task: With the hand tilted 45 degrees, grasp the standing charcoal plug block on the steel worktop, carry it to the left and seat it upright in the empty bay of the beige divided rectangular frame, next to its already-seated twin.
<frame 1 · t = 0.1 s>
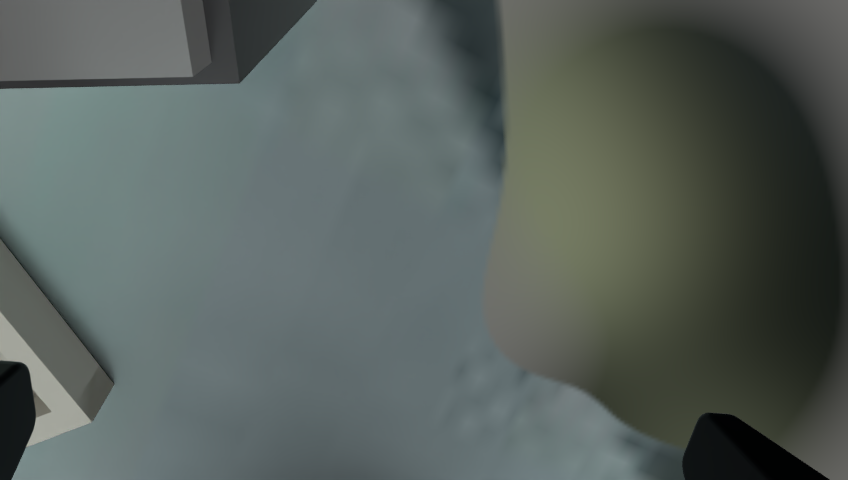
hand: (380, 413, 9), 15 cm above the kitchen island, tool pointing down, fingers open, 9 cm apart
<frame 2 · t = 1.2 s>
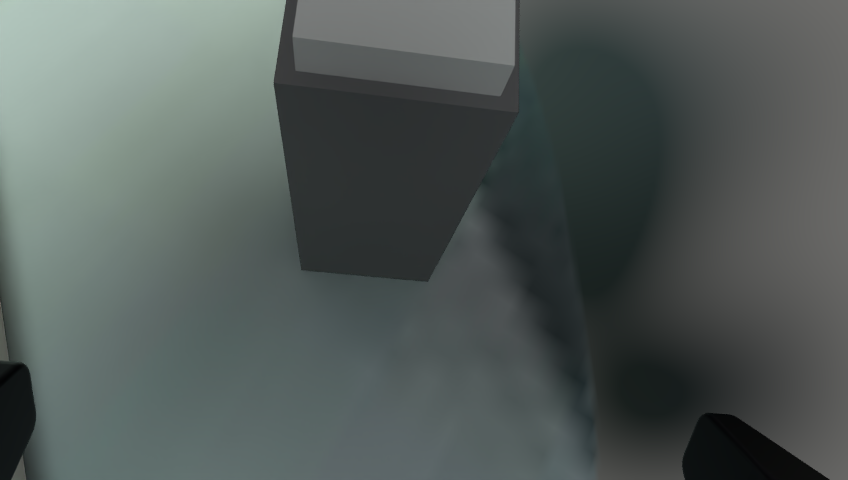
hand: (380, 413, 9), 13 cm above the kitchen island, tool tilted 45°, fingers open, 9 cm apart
iec plug: (370, 223, 24), on the kitchen island
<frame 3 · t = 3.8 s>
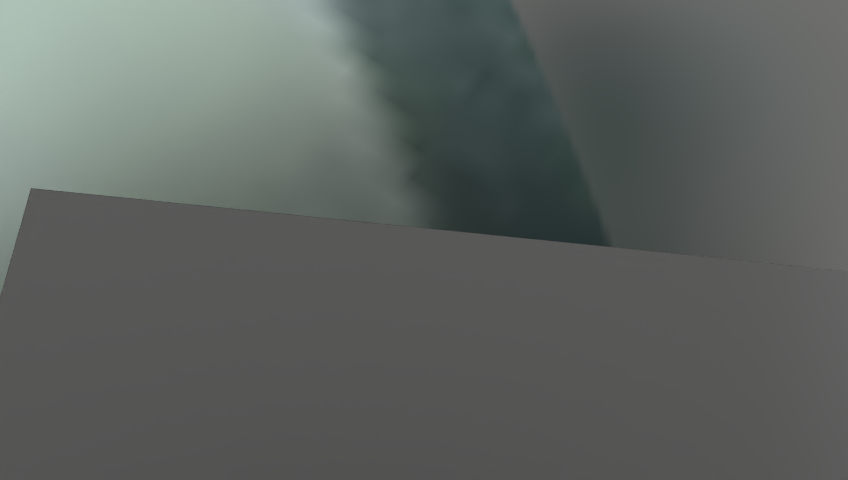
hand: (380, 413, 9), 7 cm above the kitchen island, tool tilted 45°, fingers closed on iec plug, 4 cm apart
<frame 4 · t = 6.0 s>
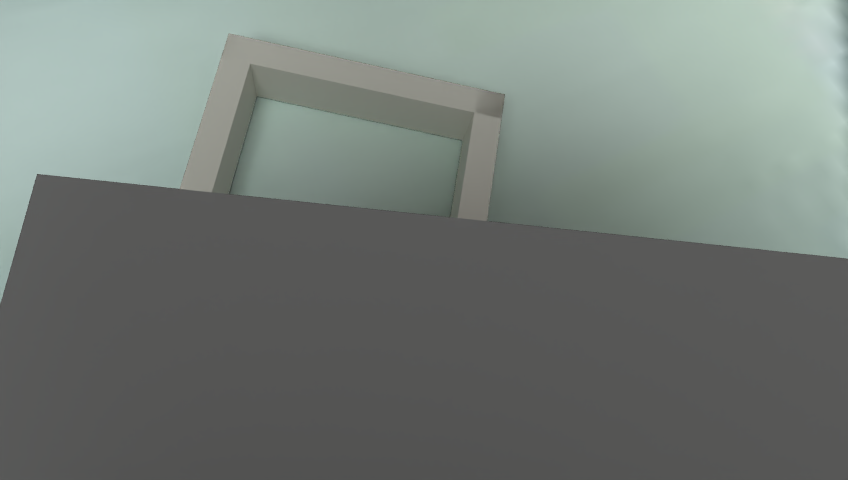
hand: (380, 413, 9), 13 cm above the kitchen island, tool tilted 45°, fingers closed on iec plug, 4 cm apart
beige divided rectangular frame: (339, 214, 24), on the kitchen island
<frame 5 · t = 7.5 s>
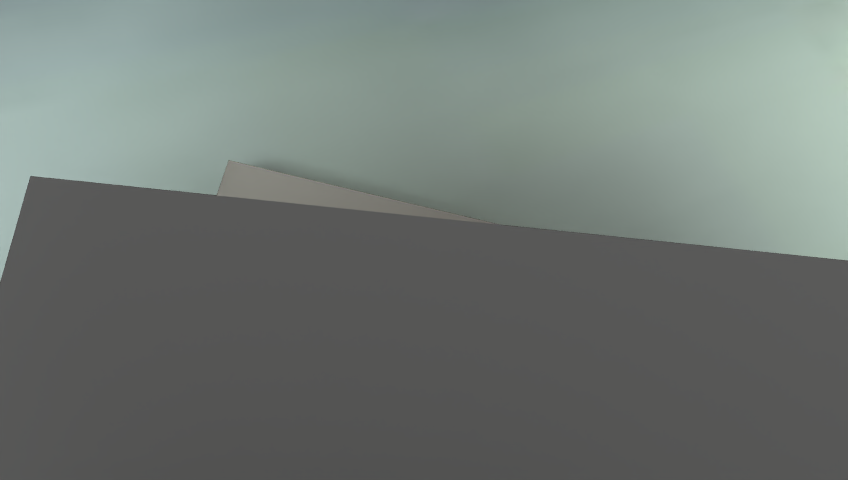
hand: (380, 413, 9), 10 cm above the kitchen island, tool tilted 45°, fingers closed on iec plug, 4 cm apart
beige divided rectangular frame: (359, 384, 19), on the kitchen island
when the fingers open (8 cm above the kitchen island, at t = 8.5 s): iec plug drops 2 cm, resting in beige divided rectangular frame.
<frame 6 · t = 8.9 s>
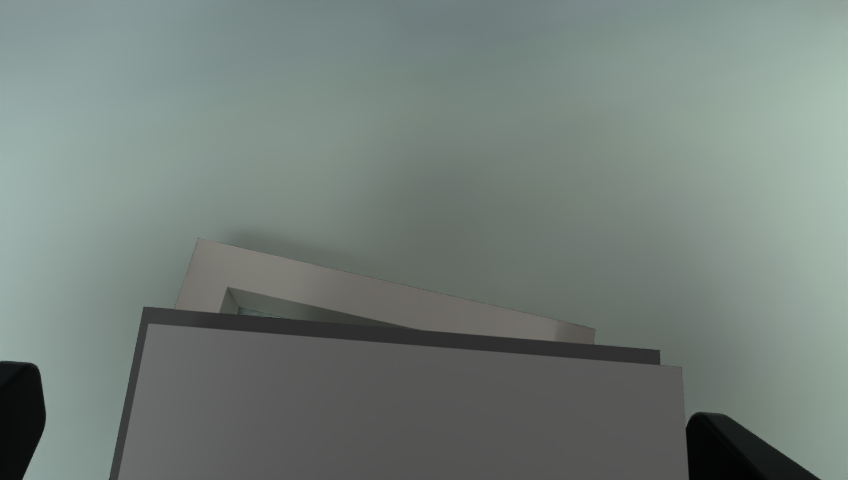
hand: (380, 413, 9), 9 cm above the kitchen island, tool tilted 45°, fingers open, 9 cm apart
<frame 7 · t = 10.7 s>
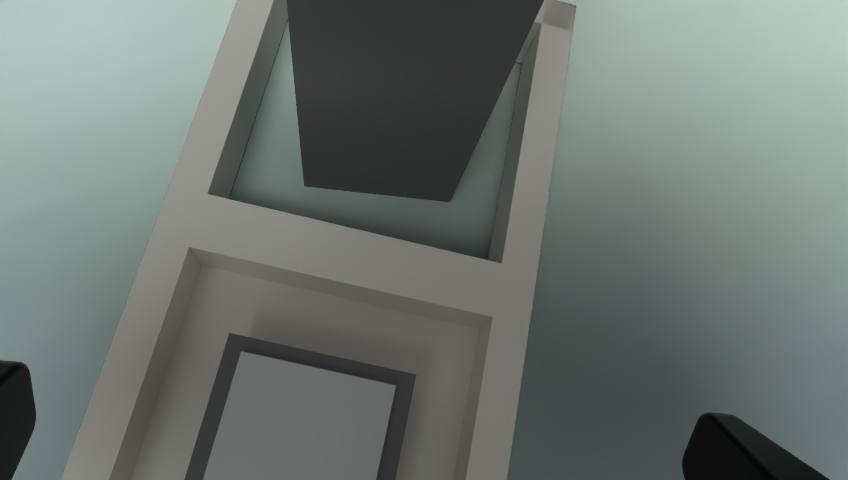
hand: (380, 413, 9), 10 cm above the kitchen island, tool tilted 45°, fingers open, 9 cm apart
iec plug: (383, 136, 21), resting in beige divided rectangular frame
beige divided rectangular frame: (383, 136, 21), on the kitchen island
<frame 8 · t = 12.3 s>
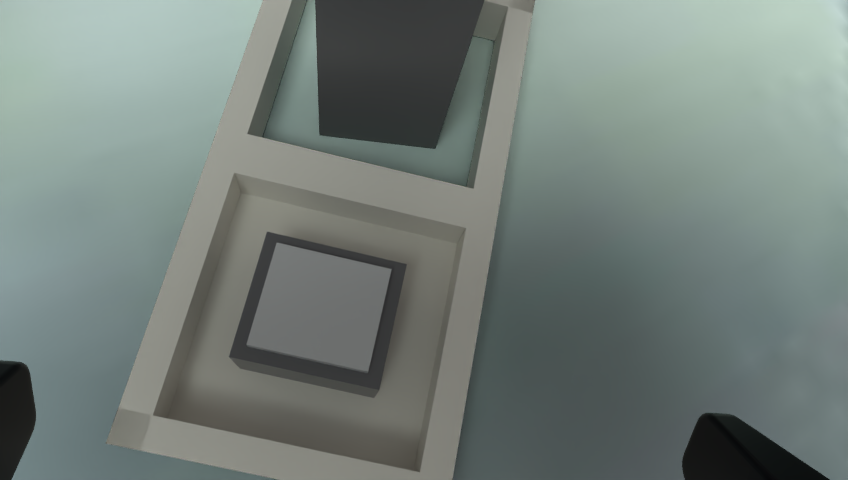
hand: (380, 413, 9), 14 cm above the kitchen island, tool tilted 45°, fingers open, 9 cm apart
iec plug: (382, 97, 26), resting in beige divided rectangular frame
beige divided rectangular frame: (382, 97, 26), on the kitchen island
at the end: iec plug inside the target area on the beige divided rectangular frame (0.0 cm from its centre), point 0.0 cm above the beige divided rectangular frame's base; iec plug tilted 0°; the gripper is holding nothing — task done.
